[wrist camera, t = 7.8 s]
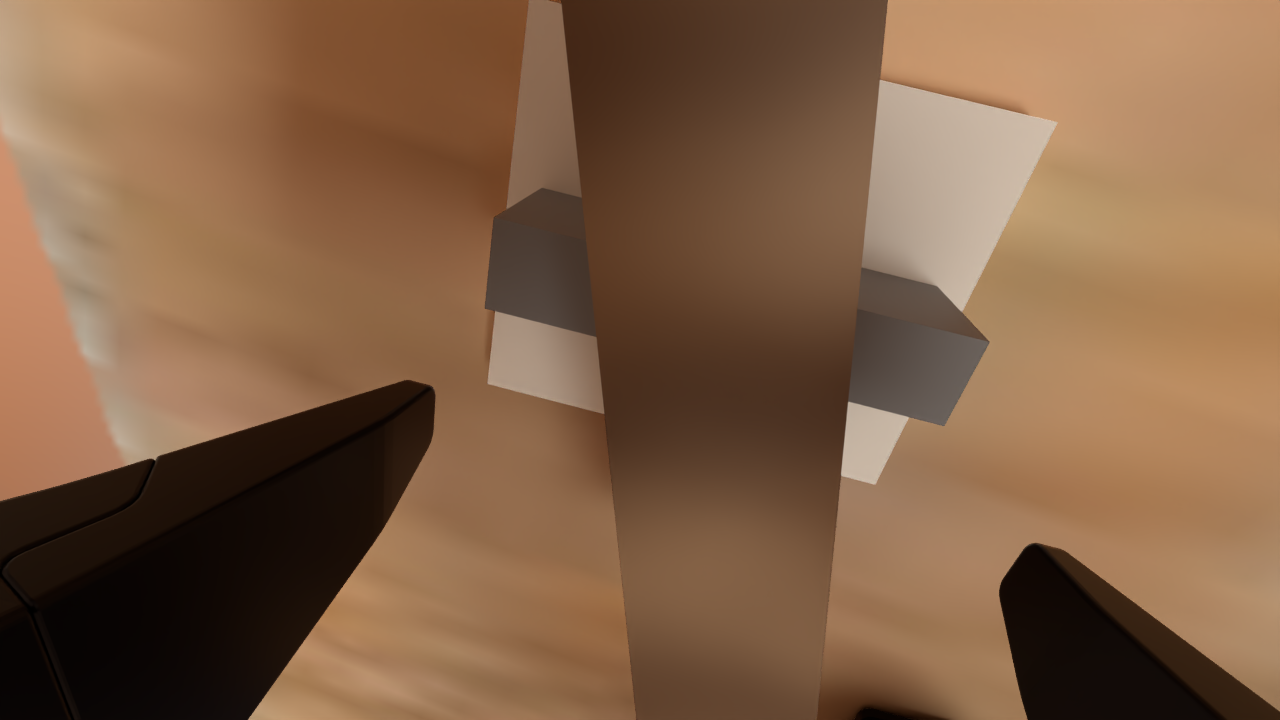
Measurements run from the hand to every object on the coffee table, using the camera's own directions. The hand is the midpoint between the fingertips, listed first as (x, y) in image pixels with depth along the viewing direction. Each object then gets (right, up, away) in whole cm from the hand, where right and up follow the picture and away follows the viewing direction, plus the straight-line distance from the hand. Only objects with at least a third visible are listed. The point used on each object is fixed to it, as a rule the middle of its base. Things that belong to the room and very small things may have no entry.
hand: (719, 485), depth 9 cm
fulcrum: (+2, +5, +11) cm, 12 cm away
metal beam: (+1, +3, +6) cm, 6 cm away
